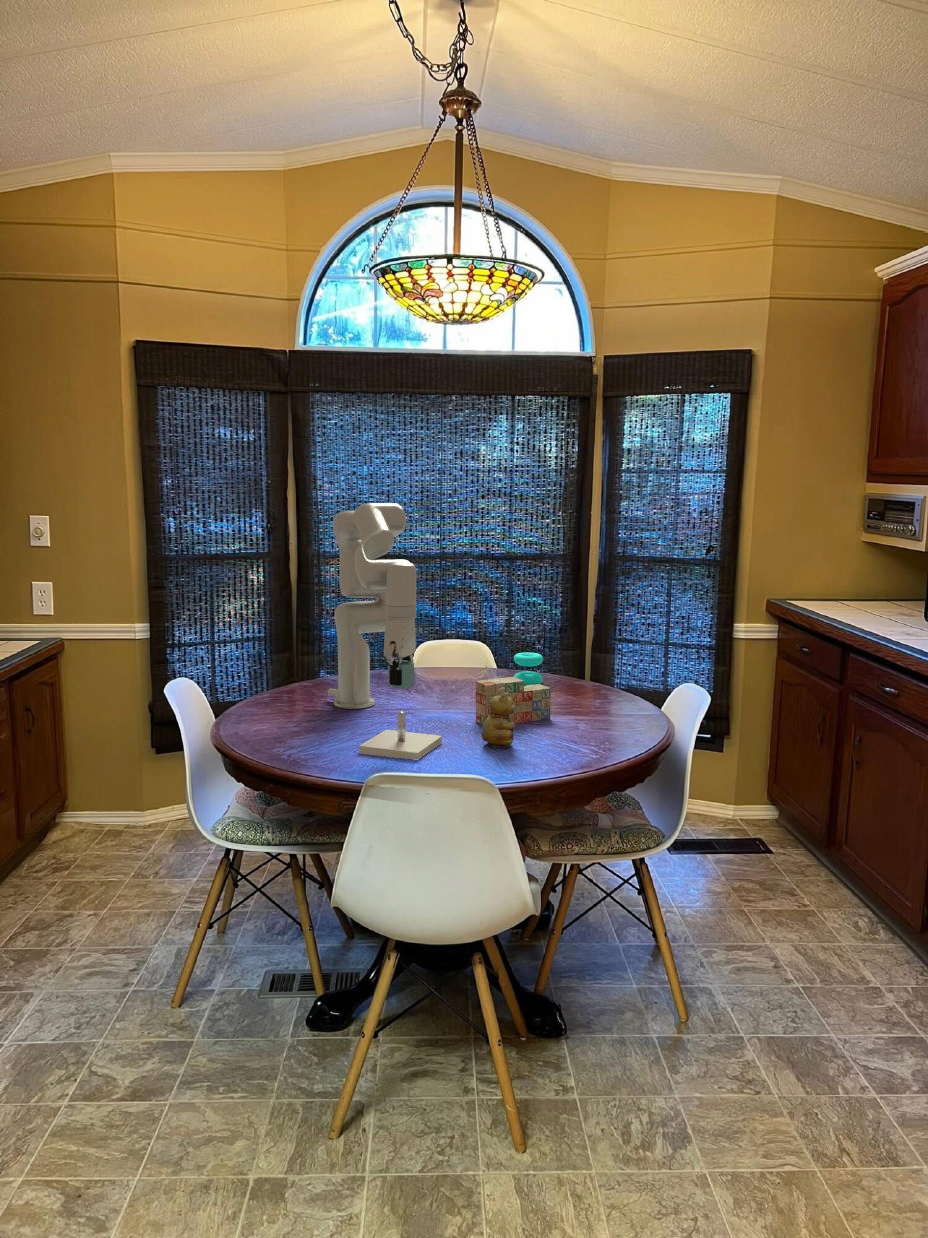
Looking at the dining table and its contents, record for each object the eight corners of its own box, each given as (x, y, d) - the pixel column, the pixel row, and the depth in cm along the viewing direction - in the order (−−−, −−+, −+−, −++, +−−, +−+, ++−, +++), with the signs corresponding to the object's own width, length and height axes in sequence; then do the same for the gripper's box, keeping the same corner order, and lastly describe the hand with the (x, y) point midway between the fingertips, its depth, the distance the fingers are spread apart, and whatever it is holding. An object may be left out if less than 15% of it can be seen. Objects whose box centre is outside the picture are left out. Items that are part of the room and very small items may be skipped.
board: (359, 753, 225) (359, 716, 224) (386, 736, 240) (386, 702, 239) (417, 760, 220) (417, 723, 218) (441, 743, 235) (442, 708, 233)
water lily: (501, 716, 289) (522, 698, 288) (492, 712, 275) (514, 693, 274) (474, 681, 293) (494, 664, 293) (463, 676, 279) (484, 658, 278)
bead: (385, 687, 226) (385, 663, 225) (395, 682, 231) (395, 659, 230) (407, 689, 224) (407, 665, 223) (416, 684, 229) (416, 661, 228)
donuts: (542, 657, 299) (512, 656, 300) (541, 687, 300) (512, 685, 302) (544, 652, 309) (515, 651, 310) (543, 680, 310) (514, 679, 311)
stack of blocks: (539, 714, 266) (540, 673, 264) (550, 719, 260) (551, 677, 258) (475, 722, 256) (475, 680, 254) (485, 727, 251) (485, 684, 249)
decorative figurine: (518, 749, 230) (519, 692, 228) (488, 751, 228) (488, 694, 226) (506, 739, 239) (507, 684, 237) (476, 741, 237) (477, 685, 235)
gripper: (401, 606, 234) (401, 674, 237) (372, 615, 218) (372, 688, 221) (428, 608, 231) (427, 676, 234) (400, 617, 215) (400, 690, 218)
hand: (401, 681), depth 227 cm, fingers closed on bead, 6 cm apart
